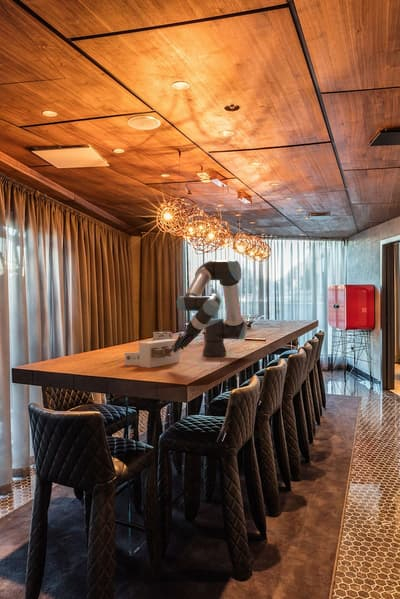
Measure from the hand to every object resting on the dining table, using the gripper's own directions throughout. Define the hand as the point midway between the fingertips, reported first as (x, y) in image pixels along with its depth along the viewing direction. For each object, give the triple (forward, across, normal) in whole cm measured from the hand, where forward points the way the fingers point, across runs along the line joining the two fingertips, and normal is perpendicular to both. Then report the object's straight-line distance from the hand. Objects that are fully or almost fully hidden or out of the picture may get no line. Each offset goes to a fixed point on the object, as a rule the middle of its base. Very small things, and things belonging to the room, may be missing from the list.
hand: (172, 355), depth 242 cm
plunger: (+10, 0, +7) cm, 12 cm away
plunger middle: (+10, +8, +7) cm, 15 cm away
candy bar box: (+26, +23, +15) cm, 38 cm away
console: (+17, +8, +7) cm, 20 cm away
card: (+24, -2, +14) cm, 28 cm away
